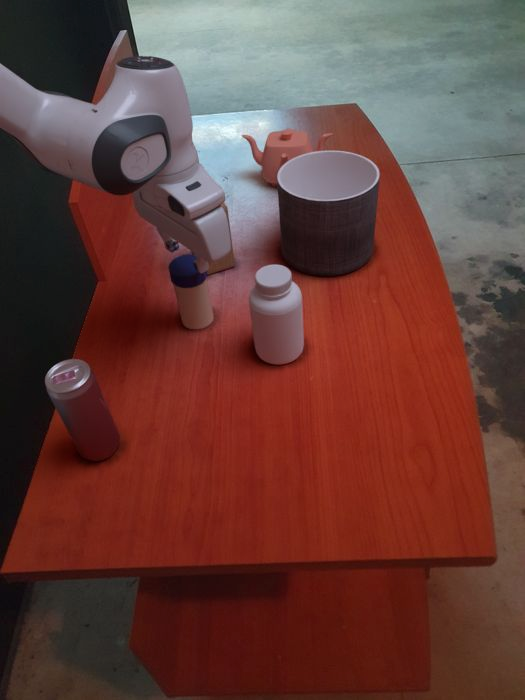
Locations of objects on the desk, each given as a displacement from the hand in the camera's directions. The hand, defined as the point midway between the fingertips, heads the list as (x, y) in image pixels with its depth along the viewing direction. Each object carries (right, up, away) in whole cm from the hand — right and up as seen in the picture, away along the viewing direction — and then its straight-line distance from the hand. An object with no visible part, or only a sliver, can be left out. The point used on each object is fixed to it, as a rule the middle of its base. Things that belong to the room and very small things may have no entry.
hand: (187, 259), depth 90 cm
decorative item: (+3, +2, +20) cm, 20 cm away
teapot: (+18, +24, +40) cm, 50 cm away
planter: (+24, +5, +21) cm, 32 cm away
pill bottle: (+15, -14, +2) cm, 21 cm away
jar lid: (0, -1, +1) cm, 2 cm away
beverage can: (-11, -28, -9) cm, 31 cm away
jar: (+1, -9, +9) cm, 13 cm away
